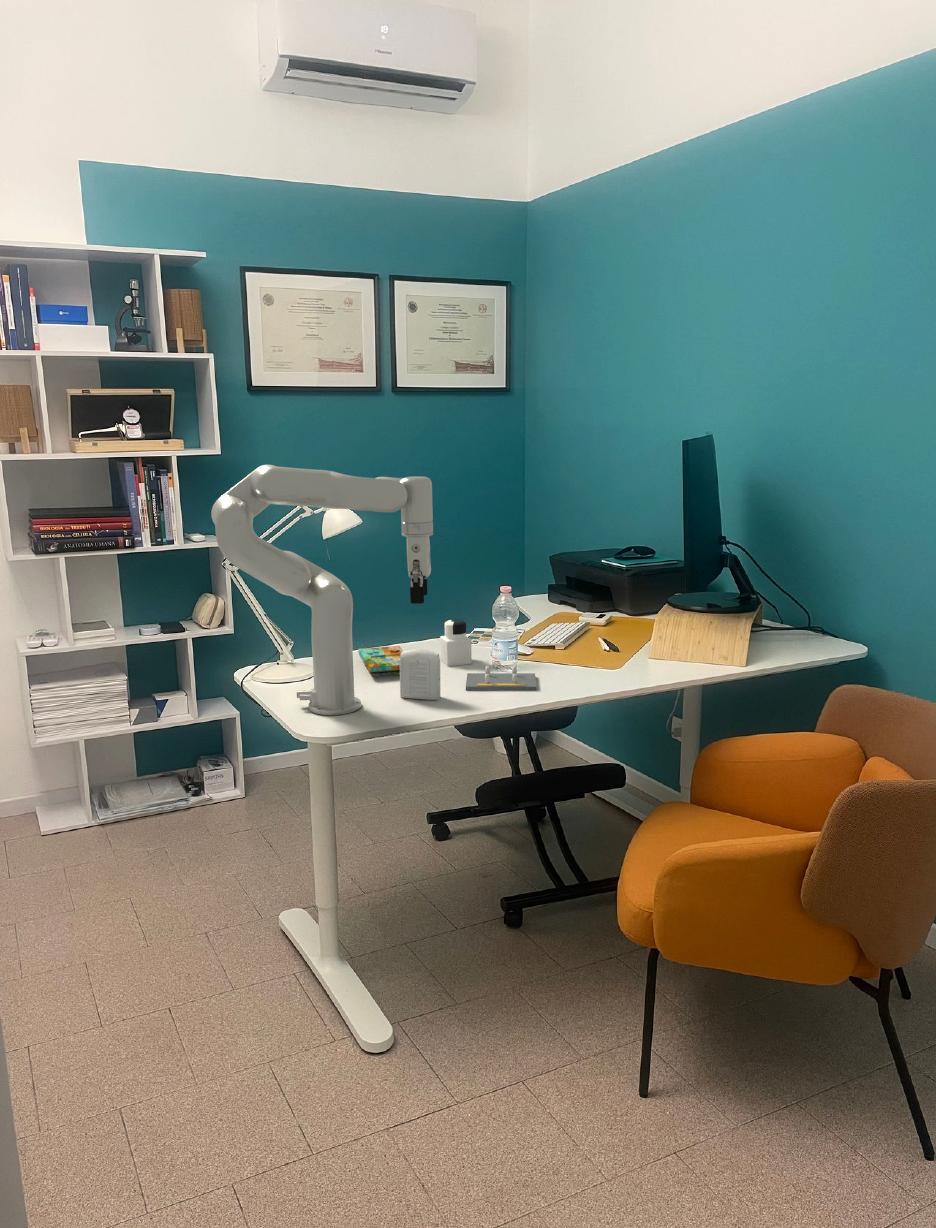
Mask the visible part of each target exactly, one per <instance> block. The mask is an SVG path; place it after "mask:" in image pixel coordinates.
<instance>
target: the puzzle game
mask: <svg viewBox="0 0 936 1228" xmlns="http://www.w3.org/2000/svg"><path fill="white" fill-rule="evenodd" d="M403 651H404V650H403V649H402V647H401V646H400V645H391V646H378V647H377V646H376V647H365V648H364V647H362V648H358V655H359V657H360V659H361V660H362V662H363V664H364V666H365V667H366V670H368V672H369V674H370V675H371V676H373V677H377V676H388V675H389V676H390V675H400V656H401V653H402V652H403Z"/></svg>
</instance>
